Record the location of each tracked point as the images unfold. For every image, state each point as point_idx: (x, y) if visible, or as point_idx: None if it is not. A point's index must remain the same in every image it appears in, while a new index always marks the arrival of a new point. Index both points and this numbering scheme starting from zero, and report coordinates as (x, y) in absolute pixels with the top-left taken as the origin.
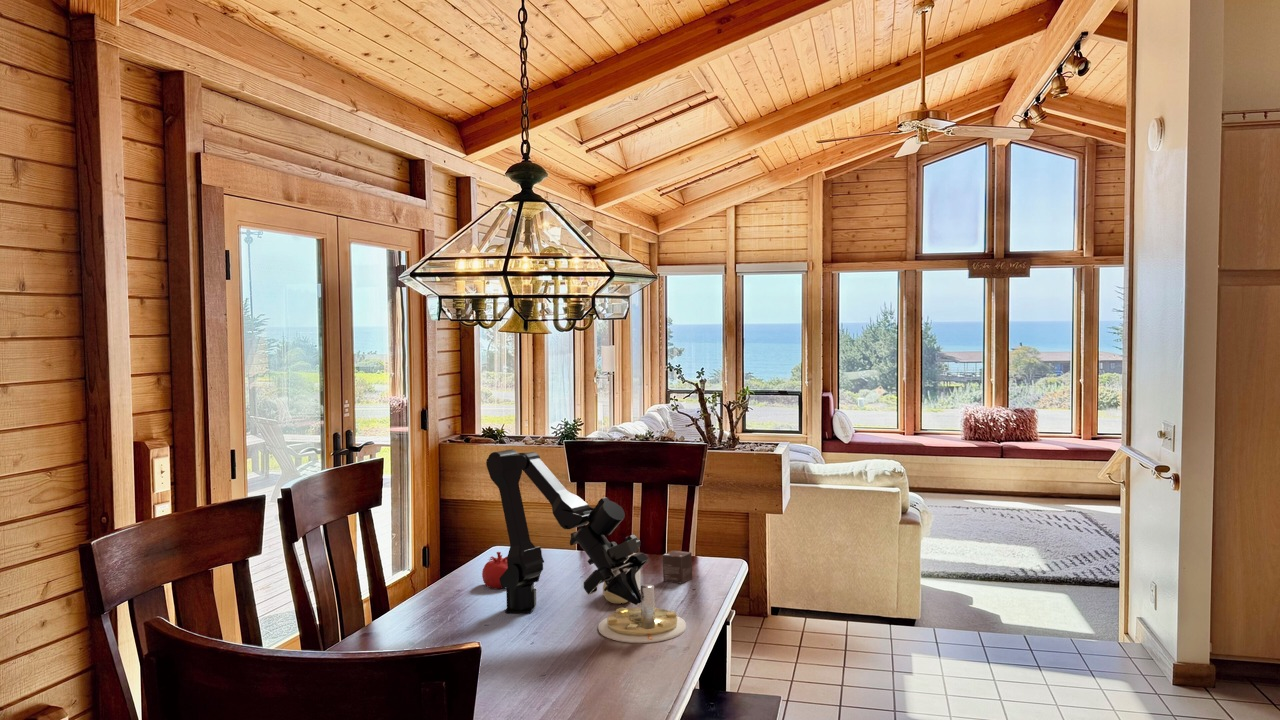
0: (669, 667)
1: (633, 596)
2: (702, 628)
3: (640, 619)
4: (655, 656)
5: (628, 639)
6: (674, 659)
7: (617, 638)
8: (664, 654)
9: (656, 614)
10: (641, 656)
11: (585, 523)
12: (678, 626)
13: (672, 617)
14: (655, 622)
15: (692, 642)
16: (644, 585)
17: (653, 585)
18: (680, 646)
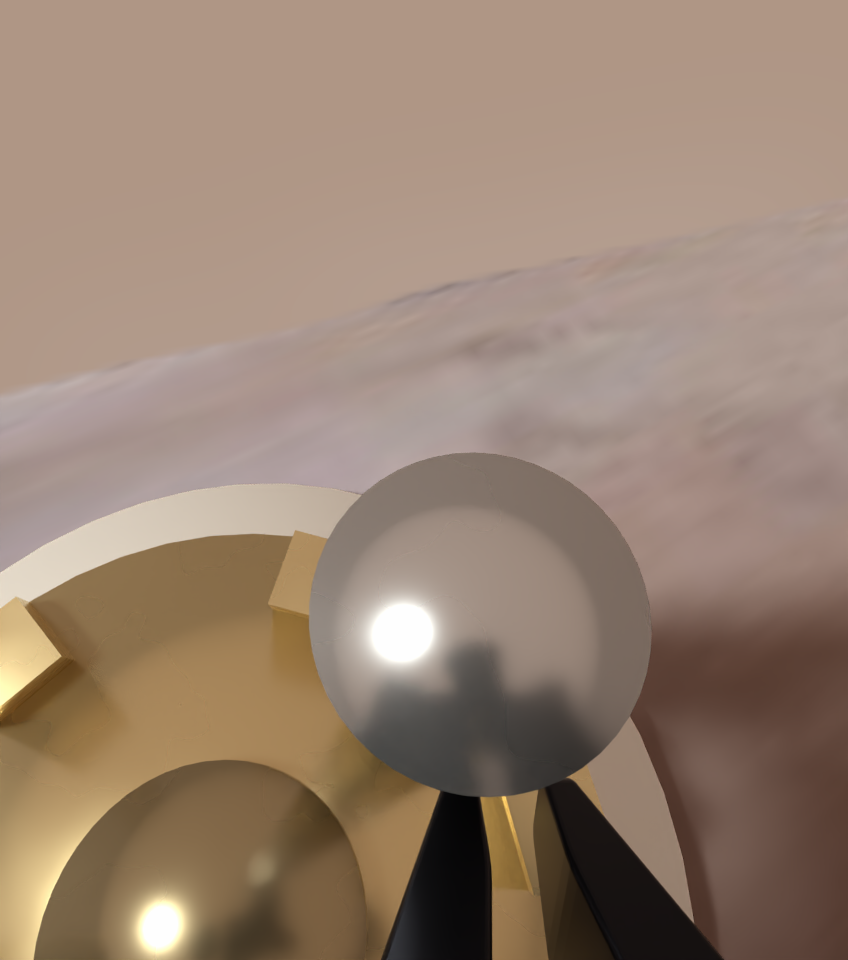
0: (807, 302)
1: (655, 885)
2: (81, 418)
3: (310, 887)
4: (734, 442)
5: (654, 784)
6: (694, 329)
7: (691, 915)
8: (669, 411)
9: (17, 845)
10: (799, 520)
11: None
12: None
13: (73, 624)
14: (281, 700)
15: (383, 360)
16: (446, 720)
17: (346, 512)
18: (489, 391)
